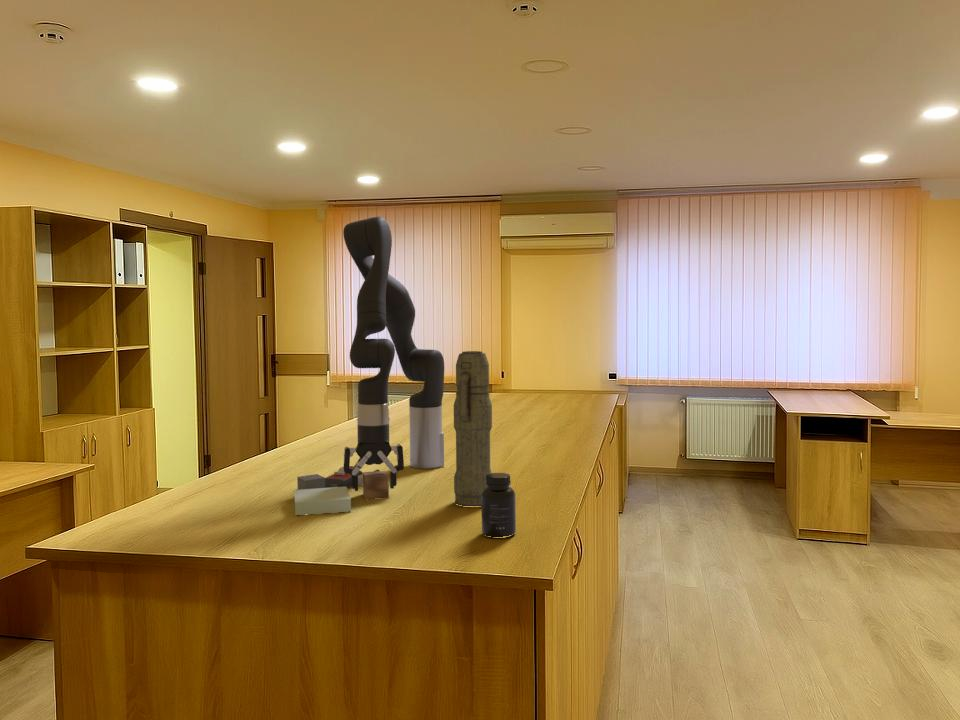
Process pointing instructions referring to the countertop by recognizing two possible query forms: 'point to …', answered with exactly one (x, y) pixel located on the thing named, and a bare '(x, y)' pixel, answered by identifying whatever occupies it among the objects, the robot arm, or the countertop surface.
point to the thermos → (472, 427)
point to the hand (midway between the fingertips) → (374, 489)
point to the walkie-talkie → (343, 479)
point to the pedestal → (322, 500)
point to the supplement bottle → (498, 506)
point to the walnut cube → (375, 485)
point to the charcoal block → (310, 482)
